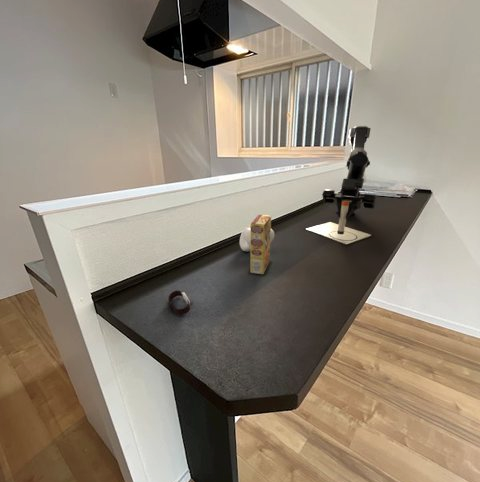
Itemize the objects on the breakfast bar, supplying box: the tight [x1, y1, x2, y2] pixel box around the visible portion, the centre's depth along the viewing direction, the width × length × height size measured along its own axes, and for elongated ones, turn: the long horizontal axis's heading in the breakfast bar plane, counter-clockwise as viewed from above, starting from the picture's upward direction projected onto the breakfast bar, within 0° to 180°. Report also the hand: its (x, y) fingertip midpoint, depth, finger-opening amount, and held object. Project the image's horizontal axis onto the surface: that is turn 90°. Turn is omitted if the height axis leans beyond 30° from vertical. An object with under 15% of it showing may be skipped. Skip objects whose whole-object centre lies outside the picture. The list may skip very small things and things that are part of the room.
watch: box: [167, 290, 191, 315], centre depth 61 cm, size 8×5×4 cm, turn 33°
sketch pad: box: [305, 221, 372, 245], centre depth 107 cm, size 20×16×1 cm
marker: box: [337, 201, 349, 234], centre depth 99 cm, size 2×2×12 cm
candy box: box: [249, 214, 272, 275], centre depth 77 cm, size 9×4×15 cm, turn 162°
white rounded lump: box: [239, 223, 275, 253], centre depth 89 cm, size 11×12×9 cm
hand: (342, 218), depth 98 cm, fingers closed on marker, 2 cm apart
